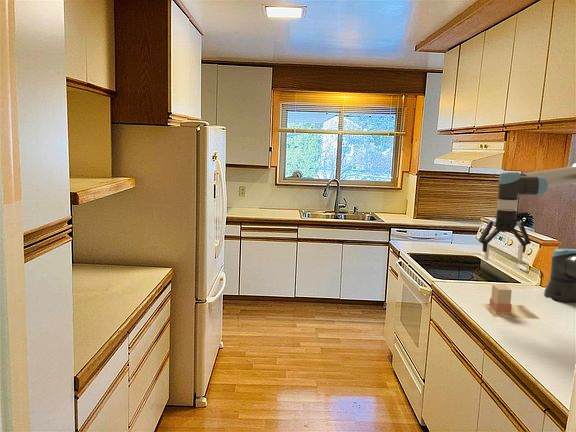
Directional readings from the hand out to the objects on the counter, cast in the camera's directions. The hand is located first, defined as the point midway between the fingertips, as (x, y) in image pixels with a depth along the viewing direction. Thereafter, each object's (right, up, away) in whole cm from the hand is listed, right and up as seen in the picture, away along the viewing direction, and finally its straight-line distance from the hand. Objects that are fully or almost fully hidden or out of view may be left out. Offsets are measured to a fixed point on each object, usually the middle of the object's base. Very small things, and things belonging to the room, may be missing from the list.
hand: (502, 260), depth 199 cm
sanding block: (-1, -21, +1) cm, 21 cm away
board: (+3, -22, +1) cm, 22 cm away
